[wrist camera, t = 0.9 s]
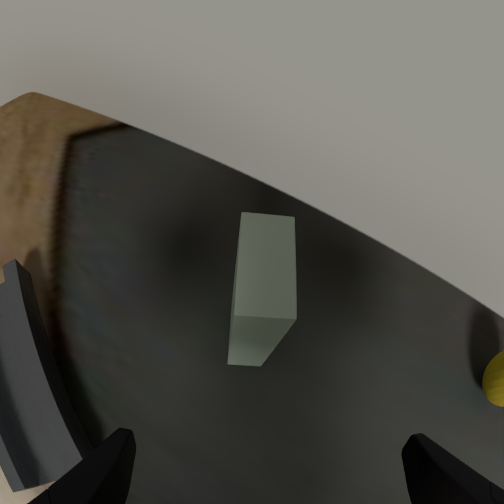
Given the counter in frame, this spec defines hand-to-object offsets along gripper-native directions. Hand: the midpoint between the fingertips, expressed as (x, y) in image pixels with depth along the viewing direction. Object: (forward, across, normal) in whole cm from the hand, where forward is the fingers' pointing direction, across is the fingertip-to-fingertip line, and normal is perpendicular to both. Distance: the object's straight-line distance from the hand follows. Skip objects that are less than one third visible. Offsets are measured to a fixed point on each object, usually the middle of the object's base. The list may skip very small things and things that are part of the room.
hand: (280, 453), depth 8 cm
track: (+10, +19, +10) cm, 24 cm away
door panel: (+15, 0, +5) cm, 16 cm away
